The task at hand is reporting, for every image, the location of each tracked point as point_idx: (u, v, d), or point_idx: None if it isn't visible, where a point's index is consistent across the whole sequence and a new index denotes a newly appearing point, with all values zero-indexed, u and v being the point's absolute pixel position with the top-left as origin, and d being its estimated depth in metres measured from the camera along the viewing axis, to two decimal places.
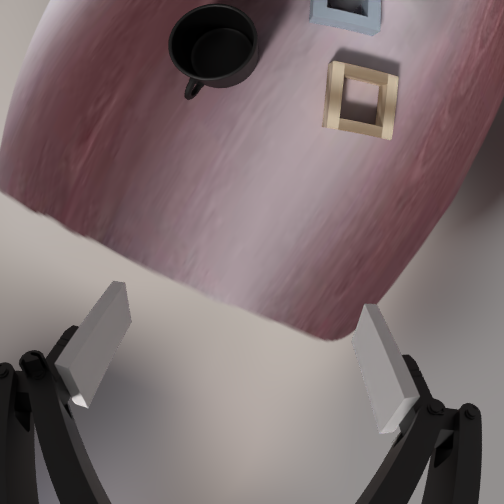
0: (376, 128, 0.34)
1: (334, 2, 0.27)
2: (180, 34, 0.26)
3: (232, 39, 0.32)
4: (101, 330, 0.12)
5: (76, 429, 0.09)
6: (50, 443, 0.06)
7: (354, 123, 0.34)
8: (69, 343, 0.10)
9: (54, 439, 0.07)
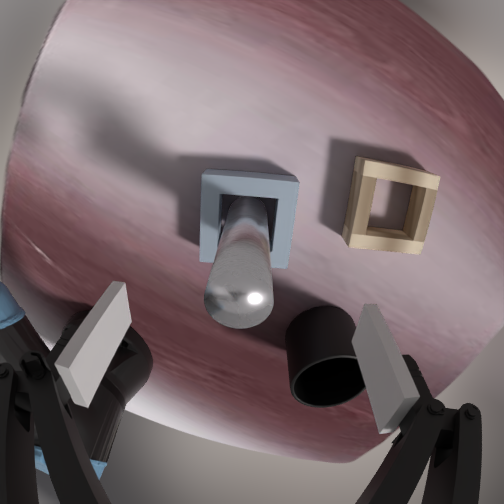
0: (428, 196, 0.27)
1: None
2: (310, 392, 0.34)
3: None
4: (101, 330, 0.12)
5: (76, 429, 0.09)
6: (50, 443, 0.06)
7: (420, 223, 0.28)
8: (69, 343, 0.10)
9: (54, 439, 0.07)
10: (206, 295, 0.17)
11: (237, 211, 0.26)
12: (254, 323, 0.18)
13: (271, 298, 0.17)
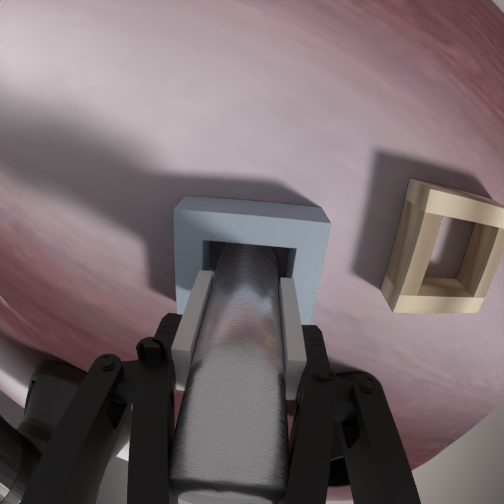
0: (499, 239, 0.17)
1: None
2: None
3: None
4: (202, 315, 0.14)
5: (173, 422, 0.10)
6: (143, 433, 0.08)
7: (484, 275, 0.18)
8: (179, 328, 0.12)
9: (149, 430, 0.08)
10: None
11: (229, 274, 0.16)
12: None
13: None
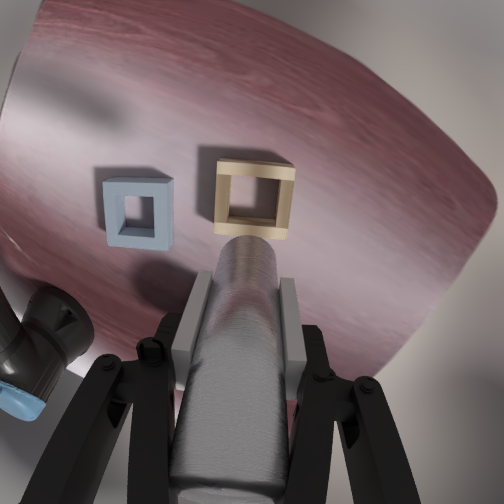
0: (284, 187, 0.34)
1: None
2: None
3: None
4: (202, 315, 0.14)
5: (173, 422, 0.10)
6: (142, 433, 0.08)
7: (279, 211, 0.36)
8: (179, 328, 0.12)
9: (149, 430, 0.08)
10: None
11: (229, 273, 0.16)
12: None
13: None
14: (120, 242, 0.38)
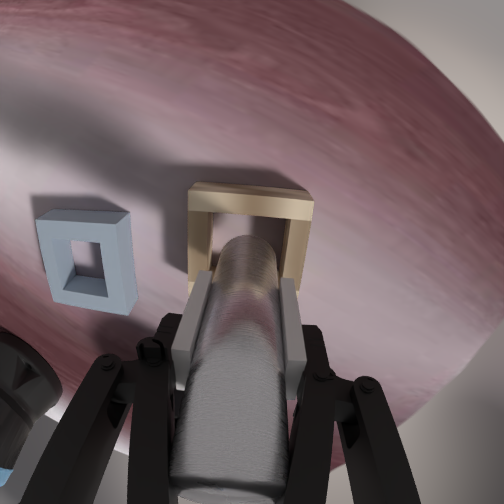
0: (295, 231, 0.22)
1: None
2: None
3: None
4: (202, 315, 0.14)
5: (173, 422, 0.10)
6: (143, 433, 0.08)
7: (287, 267, 0.23)
8: (179, 328, 0.12)
9: (149, 430, 0.08)
10: None
11: (229, 272, 0.16)
12: None
13: None
14: (67, 299, 0.26)
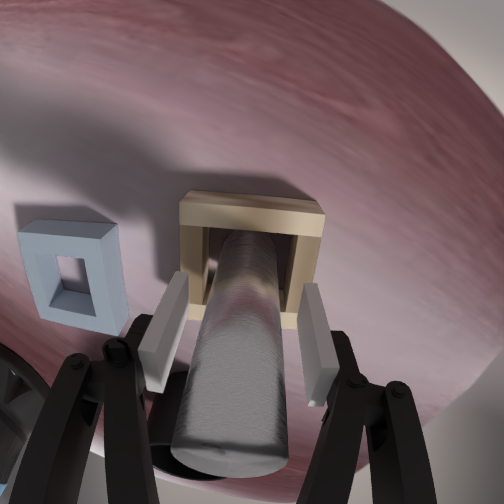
0: (303, 248, 0.19)
1: None
2: None
3: None
4: (174, 316, 0.14)
5: (145, 421, 0.10)
6: (116, 433, 0.07)
7: (293, 288, 0.20)
8: (148, 329, 0.12)
9: (121, 430, 0.08)
10: (174, 448, 0.08)
11: (232, 261, 0.17)
12: (255, 475, 0.09)
13: (285, 457, 0.08)
14: (54, 316, 0.23)
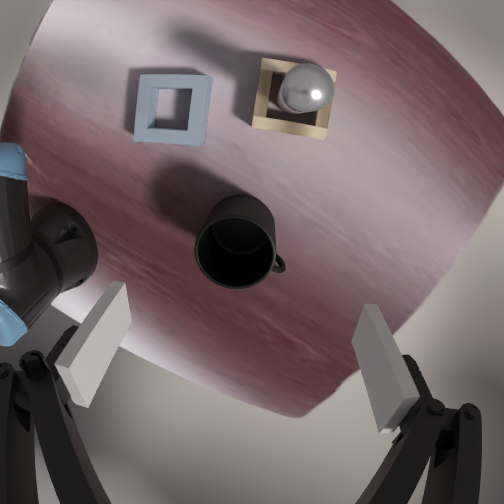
0: None
1: None
2: (221, 273, 0.38)
3: None
4: (101, 330, 0.12)
5: (76, 429, 0.09)
6: (50, 443, 0.06)
7: (320, 110, 0.32)
8: (69, 343, 0.10)
9: (54, 439, 0.07)
10: (285, 79, 0.20)
11: None
12: (319, 107, 0.21)
13: (332, 87, 0.20)
14: (148, 137, 0.35)
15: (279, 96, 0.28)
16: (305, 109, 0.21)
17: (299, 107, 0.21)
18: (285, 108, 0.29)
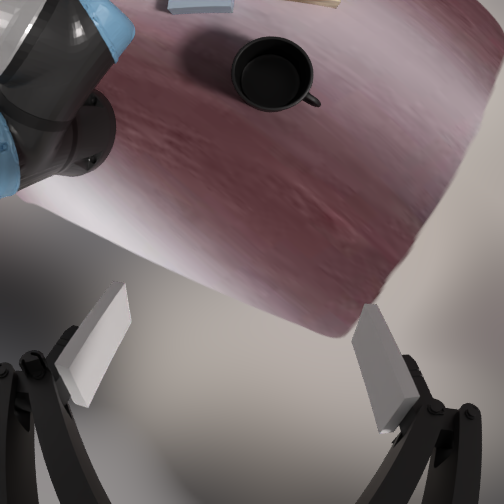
0: None
1: None
2: None
3: (253, 72, 0.37)
4: (101, 330, 0.12)
5: (76, 429, 0.09)
6: (50, 443, 0.06)
7: None
8: (69, 343, 0.10)
9: (54, 439, 0.07)
10: None
11: None
12: None
13: None
14: (182, 4, 0.30)
15: None
16: None
17: None
18: None
